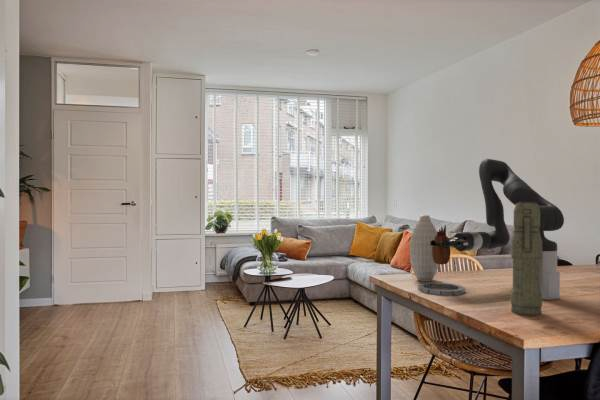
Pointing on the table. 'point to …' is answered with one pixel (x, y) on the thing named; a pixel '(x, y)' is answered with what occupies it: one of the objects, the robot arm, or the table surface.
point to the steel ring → (426, 286)
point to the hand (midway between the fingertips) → (436, 243)
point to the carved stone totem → (526, 260)
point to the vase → (423, 249)
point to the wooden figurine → (441, 248)
